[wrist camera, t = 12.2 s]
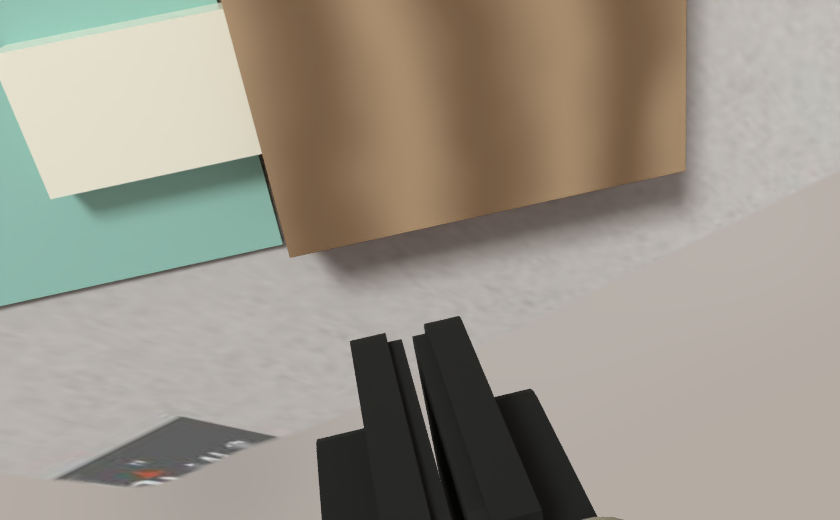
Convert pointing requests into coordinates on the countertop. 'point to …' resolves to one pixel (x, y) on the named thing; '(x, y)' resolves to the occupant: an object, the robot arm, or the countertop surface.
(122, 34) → the tile
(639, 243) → the countertop surface
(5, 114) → the mat
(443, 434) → the robot arm
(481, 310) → the countertop surface
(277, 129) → the wooden block
